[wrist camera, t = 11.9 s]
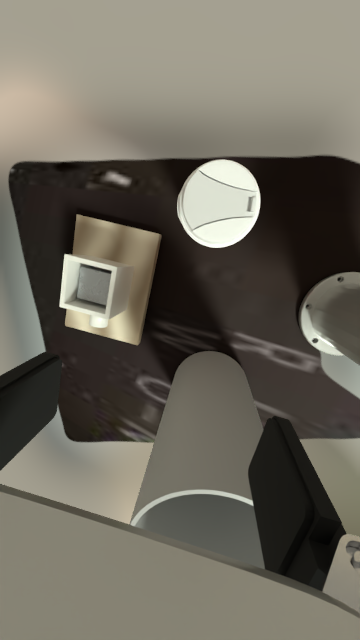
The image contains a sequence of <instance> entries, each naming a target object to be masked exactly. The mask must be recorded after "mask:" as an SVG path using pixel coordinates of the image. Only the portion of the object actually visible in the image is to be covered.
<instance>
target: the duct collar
mask: <svg viewBox="0 0 360 640" xmlns="http://www.w3.org/2000/svg"><path fill="white" fill-rule="evenodd" d="M85 266H95V267H99V268H103V269H107V270H111V271H112V273H111V280H110V286H109V293H108V299H107V305H103V304H99V303H95V302H91V301H88V300H84V299H80V298H77V293H78V285H79V276H80V267H85ZM133 272H134V266H131V265H127V264H123V263H119V262H115V261H111V260H107V259H103V258H99V257H95V256H88V255H72V254H65V255H64V266H63V276H62V286H61V297H60V307H63V308H66V309H70V310H74V311H78V312H81V313H85V314H89V315H90V319H89V325H91V326H93V327H97V328H104V327H107V326H108V320H109V319H111V318H113V317H115V316H116V315H118V314H120V313H122V312H123V311H125V310H127V306H128V301H129V295H130V289H131V283H132V278H133Z"/></svg>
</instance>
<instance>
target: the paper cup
mask: <svg viewBox="0 0 360 640" xmlns="http://www.w3.org/2000/svg"><path fill="white" fill-rule="evenodd" d="M259 210H260V192H259V187H258V185H257V182H256V180H255V178H254V177H253V175H252V174H251V173H250V172H249V170H248V169H246V168H245V167H244V166H243V165H241V164H239V163H237V162H234V161H231V160H224V159H223V160H214V161H210V162H207V163H205V164H203V165H201V166H200V167H198V168H197V169H196V170H195V171H193V172H192V174H191V175H190V176H189V177H188V179H187V180H186V182H185V183H184V185H183V188H182V190H181V192H180V194H179V196H178V201H177V212H178V217H179V219H180V221H181V223H182V225H183V227H184V229H185V230H186V232H187V233H188V234H189V236H190V237H191V238H192V239H194V240H195V241H196V242H198V243H200V244H202V245H204V246H207V247H213V248H220V247H226V246H229V245H232V244H234V243H236V242H238V241H239V240H241V239H242V238H243V237H244V236H246V235H247V234H248V232H249V231H250V230H251V229H252V227H253V225H254V224H255V222H256V220H257V217H258V214H259Z"/></svg>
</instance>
